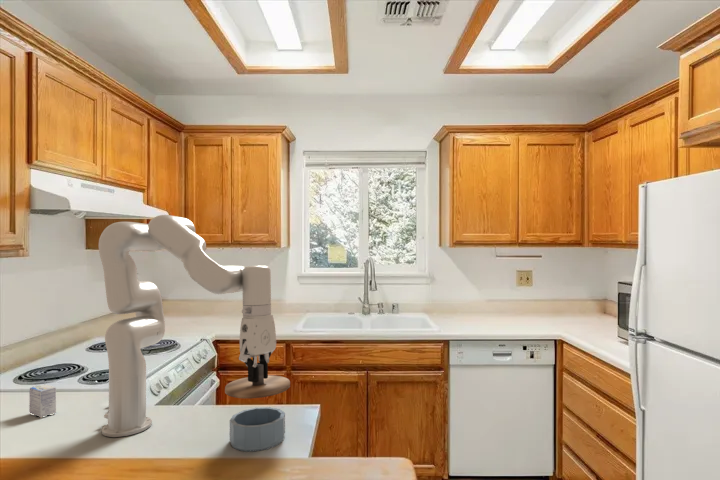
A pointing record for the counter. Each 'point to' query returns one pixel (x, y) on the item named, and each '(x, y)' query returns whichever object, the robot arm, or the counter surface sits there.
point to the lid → (257, 386)
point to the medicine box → (42, 400)
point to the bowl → (257, 429)
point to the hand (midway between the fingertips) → (258, 379)
